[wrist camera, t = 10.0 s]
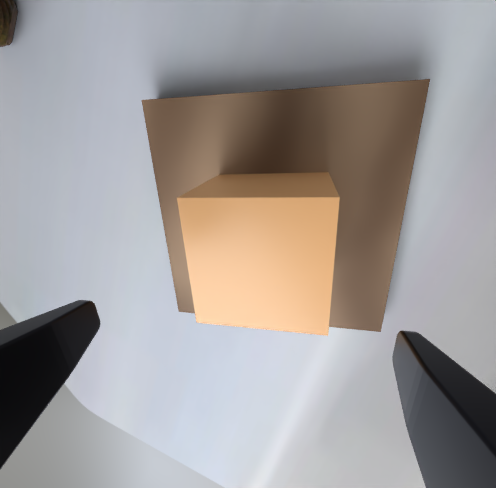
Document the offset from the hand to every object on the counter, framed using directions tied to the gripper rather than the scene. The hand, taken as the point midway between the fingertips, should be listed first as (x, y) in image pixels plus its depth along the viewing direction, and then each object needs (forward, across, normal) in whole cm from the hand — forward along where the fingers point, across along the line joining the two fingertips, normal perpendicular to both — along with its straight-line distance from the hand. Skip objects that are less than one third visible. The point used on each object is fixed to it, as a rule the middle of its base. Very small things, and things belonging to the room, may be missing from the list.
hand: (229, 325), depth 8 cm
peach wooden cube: (+9, 0, 0) cm, 9 cm away
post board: (+10, 0, 0) cm, 11 cm away
